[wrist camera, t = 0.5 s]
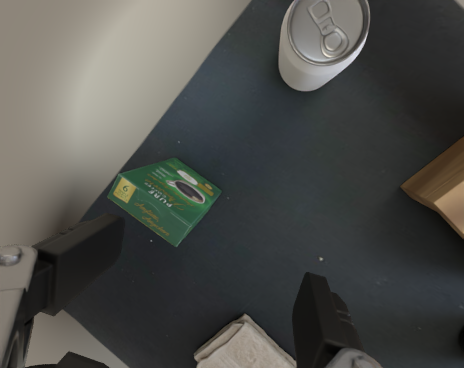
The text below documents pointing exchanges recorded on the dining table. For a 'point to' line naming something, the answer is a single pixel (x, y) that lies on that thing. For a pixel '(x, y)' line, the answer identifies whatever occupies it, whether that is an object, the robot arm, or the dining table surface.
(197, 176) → the coffee box
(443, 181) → the shelf
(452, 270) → the dining table surface
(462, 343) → the supplement container
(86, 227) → the robot arm
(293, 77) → the can
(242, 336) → the washcloth
